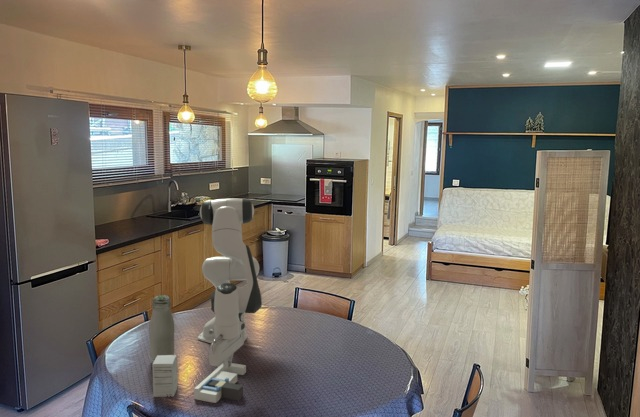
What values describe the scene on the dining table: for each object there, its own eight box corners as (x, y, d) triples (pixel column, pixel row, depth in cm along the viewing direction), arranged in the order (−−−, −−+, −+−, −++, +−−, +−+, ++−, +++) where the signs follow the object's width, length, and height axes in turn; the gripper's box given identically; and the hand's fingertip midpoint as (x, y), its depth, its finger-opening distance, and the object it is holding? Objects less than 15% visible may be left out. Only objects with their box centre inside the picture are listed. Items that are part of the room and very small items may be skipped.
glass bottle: (152, 368, 193) (150, 301, 189) (148, 358, 202) (146, 293, 198) (177, 363, 197) (175, 297, 193) (172, 353, 206) (171, 290, 202)
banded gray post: (208, 394, 173) (208, 384, 173) (213, 389, 177) (213, 379, 176) (238, 400, 170) (238, 389, 169) (243, 395, 173) (243, 384, 173)
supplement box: (157, 387, 178) (156, 354, 177) (178, 386, 179) (177, 354, 177) (152, 397, 171) (151, 364, 169) (174, 396, 172) (173, 363, 170)
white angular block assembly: (194, 399, 170) (194, 386, 170) (226, 369, 193) (226, 358, 192) (215, 403, 168) (215, 390, 167) (246, 372, 191) (245, 361, 190)
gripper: (220, 342, 159) (221, 381, 161) (247, 321, 178) (247, 356, 180) (203, 340, 161) (204, 378, 163) (232, 319, 180) (232, 354, 182)
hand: (227, 367), depth 172 cm, fingers closed
